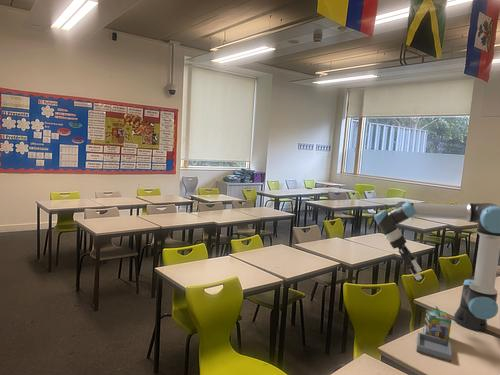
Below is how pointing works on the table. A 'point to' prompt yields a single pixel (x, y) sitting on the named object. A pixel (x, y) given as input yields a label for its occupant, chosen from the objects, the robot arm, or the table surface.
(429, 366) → the table surface
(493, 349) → the table surface
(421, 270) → the robot arm
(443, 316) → the chalk box
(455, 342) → the table surface
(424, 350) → the tray
